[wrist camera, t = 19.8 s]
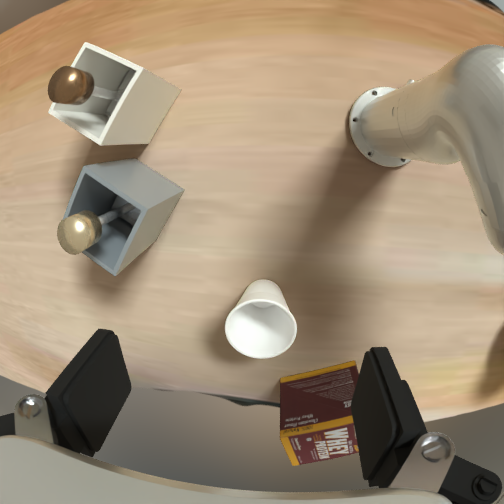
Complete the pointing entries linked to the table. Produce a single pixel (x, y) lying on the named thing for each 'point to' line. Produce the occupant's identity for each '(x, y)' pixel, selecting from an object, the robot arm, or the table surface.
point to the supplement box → (318, 414)
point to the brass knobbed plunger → (92, 225)
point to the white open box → (129, 106)
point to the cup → (261, 322)
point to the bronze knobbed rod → (82, 88)
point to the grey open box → (135, 192)
